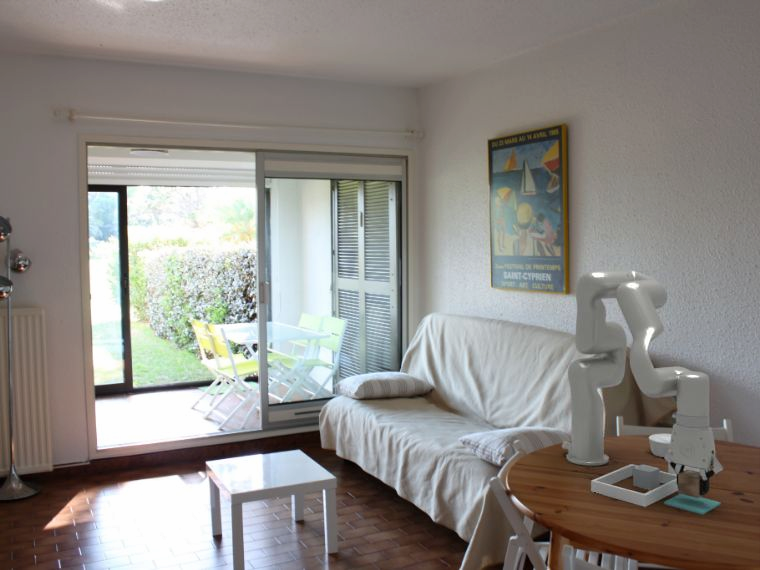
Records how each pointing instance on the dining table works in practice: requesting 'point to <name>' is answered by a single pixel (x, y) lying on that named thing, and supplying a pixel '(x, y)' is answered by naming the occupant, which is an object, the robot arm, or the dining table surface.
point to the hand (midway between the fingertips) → (692, 490)
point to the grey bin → (606, 488)
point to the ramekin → (660, 444)
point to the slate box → (646, 477)
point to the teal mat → (692, 503)
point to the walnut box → (689, 483)
